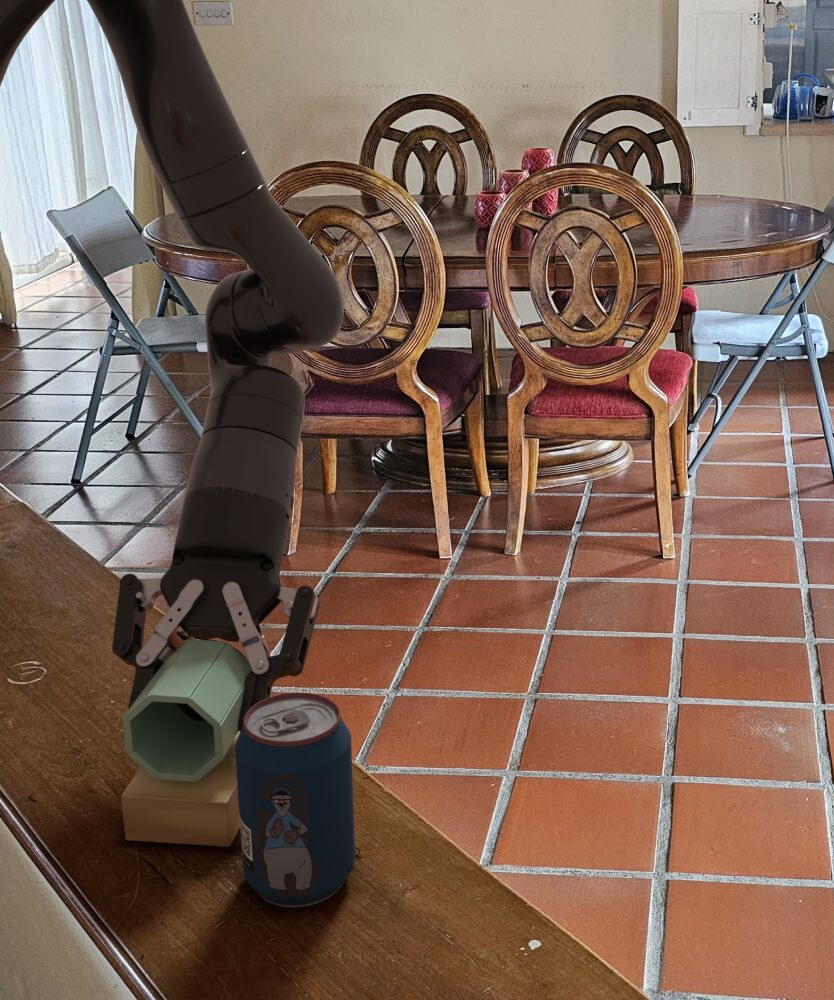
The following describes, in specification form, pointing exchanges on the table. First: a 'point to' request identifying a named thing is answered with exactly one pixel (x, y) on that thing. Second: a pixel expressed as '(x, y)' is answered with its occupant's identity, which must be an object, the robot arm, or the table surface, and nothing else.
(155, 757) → the octagonal tube
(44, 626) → the table surface
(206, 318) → the robot arm
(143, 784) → the step
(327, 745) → the soda can
